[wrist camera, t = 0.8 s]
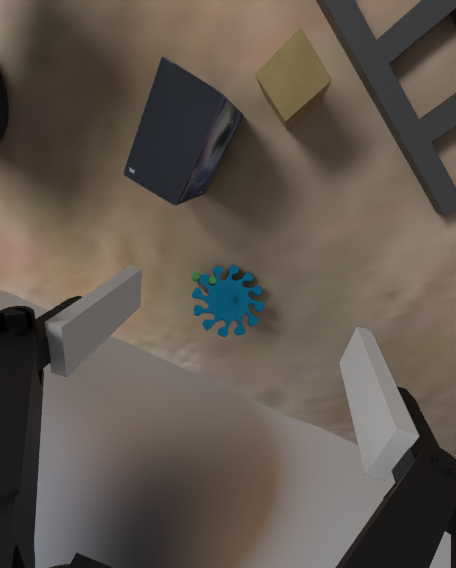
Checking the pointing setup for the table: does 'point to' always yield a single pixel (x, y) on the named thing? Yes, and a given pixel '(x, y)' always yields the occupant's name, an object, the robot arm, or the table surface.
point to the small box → (180, 135)
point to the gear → (226, 299)
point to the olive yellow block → (294, 79)
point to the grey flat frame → (389, 94)
